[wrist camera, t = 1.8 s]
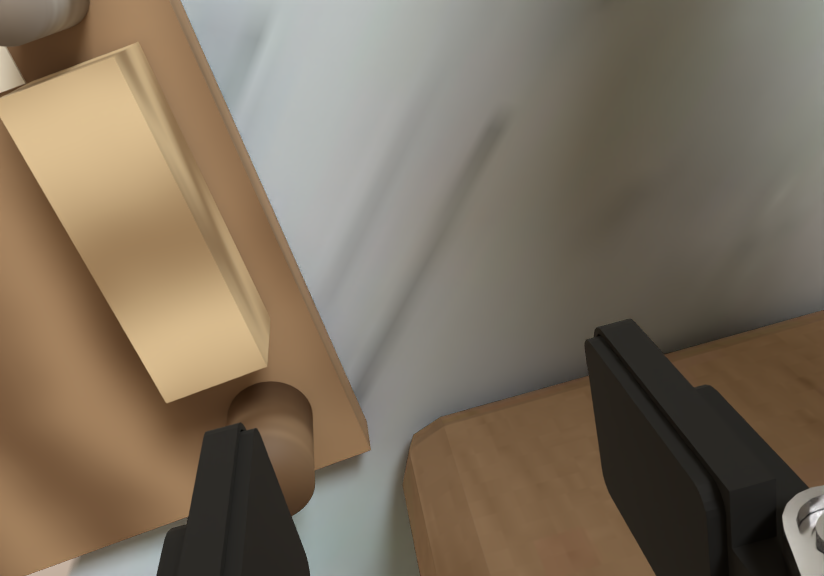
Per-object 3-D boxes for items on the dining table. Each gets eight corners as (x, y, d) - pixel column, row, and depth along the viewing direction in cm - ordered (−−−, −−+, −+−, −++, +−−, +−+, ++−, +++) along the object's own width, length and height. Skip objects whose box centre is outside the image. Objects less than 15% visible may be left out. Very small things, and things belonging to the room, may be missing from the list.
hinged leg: (32, 81, 23) (-9, 102, 20) (138, 41, 23) (114, 56, 20) (181, 351, 27) (166, 403, 24) (270, 318, 27) (267, 366, 24)
